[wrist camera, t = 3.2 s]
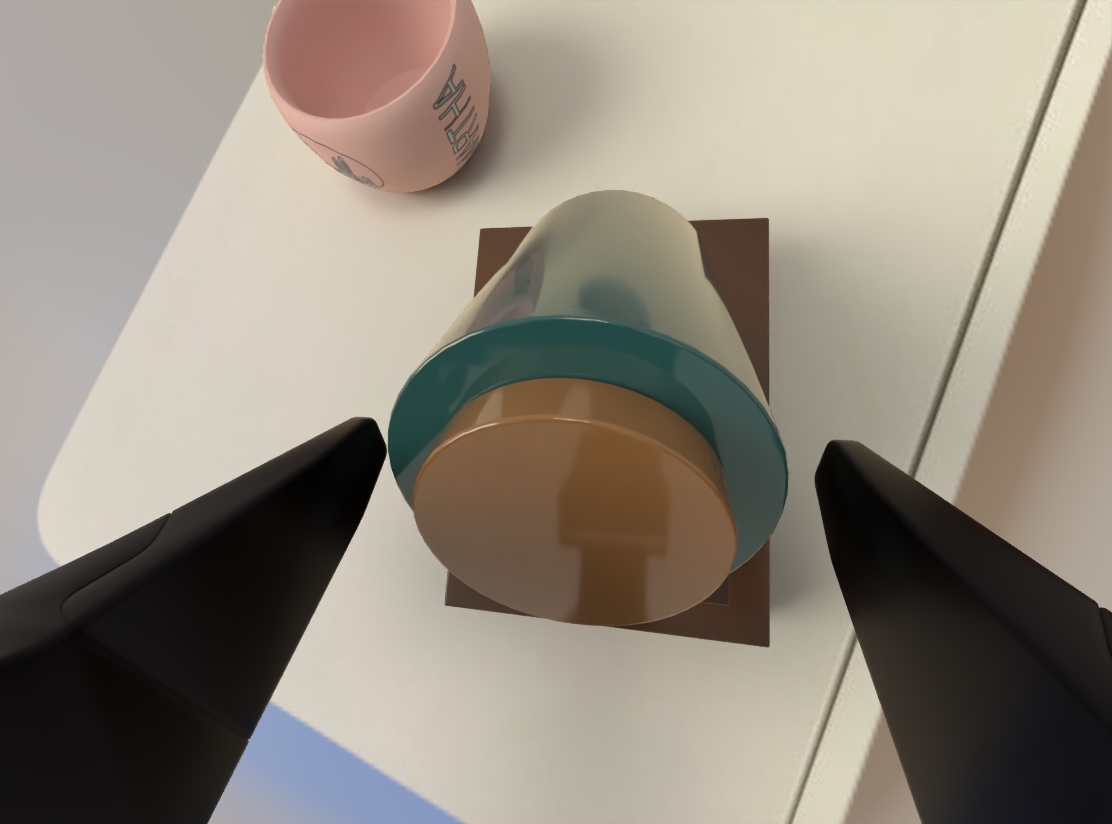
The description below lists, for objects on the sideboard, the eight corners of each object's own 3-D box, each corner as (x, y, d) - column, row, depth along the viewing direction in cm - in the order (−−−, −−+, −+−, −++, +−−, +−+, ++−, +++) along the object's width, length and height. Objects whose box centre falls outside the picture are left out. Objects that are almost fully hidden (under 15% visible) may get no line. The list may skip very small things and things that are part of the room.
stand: (746, 618, 17) (806, 693, 12) (471, 585, 20) (404, 634, 14) (748, 255, 20) (799, 162, 14) (499, 260, 22) (451, 182, 16)
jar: (696, 562, 15) (876, 798, 4) (509, 543, 16) (267, 687, 5) (702, 267, 17) (846, -135, 6) (530, 270, 18) (375, -55, 7)
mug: (543, 93, 23) (514, -37, 17) (444, 248, 22) (379, 169, 16) (378, 24, 25) (303, -109, 19) (287, 162, 25) (184, 68, 19)
